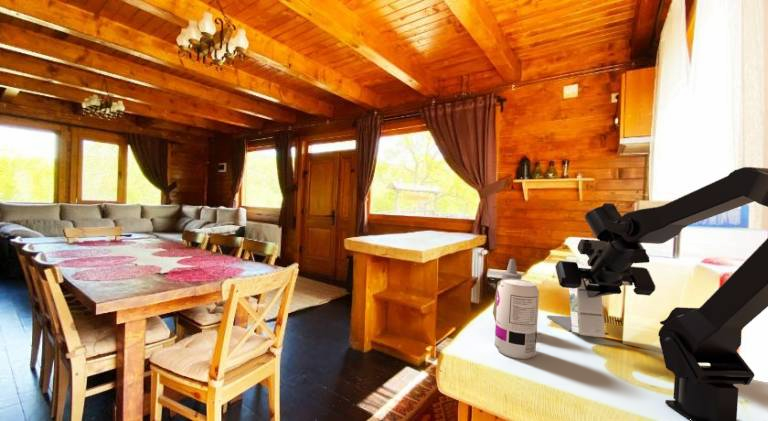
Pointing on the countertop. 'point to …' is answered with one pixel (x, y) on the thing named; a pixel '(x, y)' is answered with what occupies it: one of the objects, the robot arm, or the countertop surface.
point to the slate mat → (562, 321)
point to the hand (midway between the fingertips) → (589, 295)
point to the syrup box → (586, 313)
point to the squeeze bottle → (509, 274)
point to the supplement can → (516, 318)
